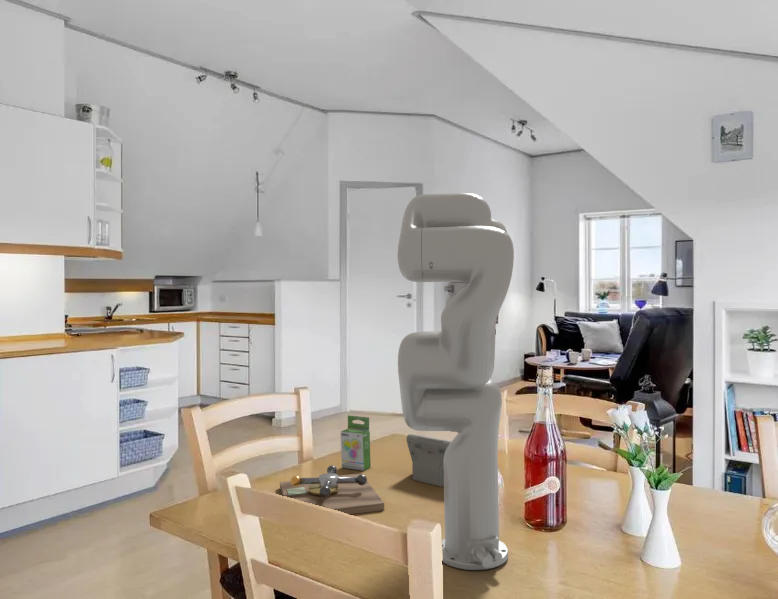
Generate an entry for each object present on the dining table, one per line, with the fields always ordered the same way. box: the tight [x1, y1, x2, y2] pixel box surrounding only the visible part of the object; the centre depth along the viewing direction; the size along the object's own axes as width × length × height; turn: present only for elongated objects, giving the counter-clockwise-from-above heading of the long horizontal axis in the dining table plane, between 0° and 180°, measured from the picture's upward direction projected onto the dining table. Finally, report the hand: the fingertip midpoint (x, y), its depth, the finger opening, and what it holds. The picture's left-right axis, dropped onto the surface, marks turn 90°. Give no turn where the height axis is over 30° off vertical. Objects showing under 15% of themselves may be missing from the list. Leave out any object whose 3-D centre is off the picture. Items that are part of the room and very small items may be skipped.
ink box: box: [340, 414, 372, 472], centre depth 161 cm, size 7×4×13 cm, turn 61°
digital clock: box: [406, 433, 452, 488], centre depth 149 cm, size 16×9×11 cm, turn 37°
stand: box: [279, 473, 385, 515], centre depth 137 cm, size 22×20×2 cm
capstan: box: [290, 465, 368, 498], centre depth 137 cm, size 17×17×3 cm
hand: (467, 372), depth 135 cm, fingers closed
